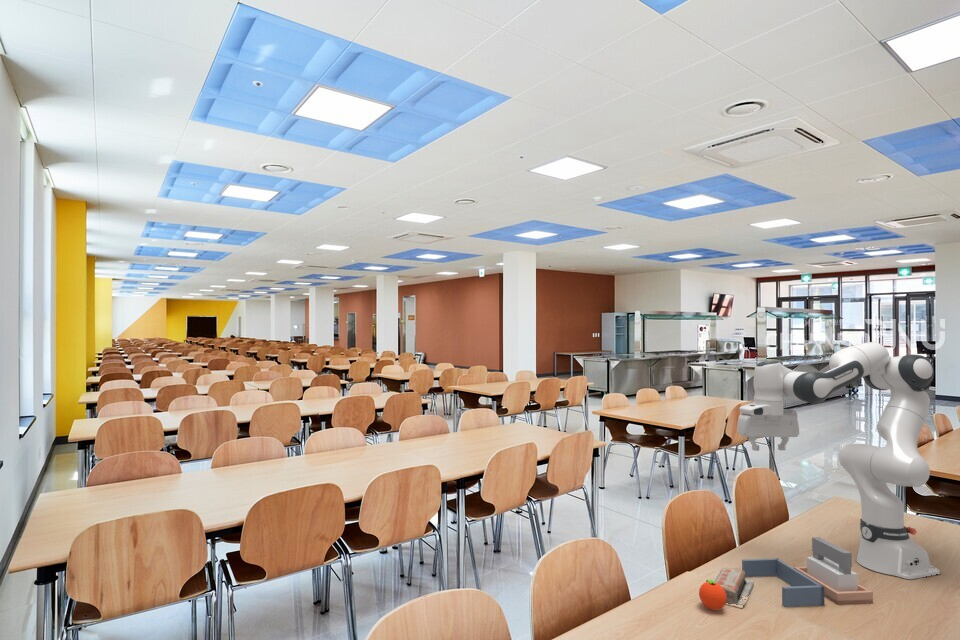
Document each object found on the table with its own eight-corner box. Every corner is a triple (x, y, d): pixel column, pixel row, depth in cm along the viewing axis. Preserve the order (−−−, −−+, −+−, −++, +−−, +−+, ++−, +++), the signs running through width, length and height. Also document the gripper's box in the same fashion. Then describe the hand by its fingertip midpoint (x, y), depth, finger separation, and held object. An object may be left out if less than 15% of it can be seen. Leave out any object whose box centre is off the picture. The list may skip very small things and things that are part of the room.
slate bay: (777, 574, 162) (777, 558, 162) (824, 605, 143) (824, 586, 143) (742, 575, 161) (741, 559, 161) (784, 607, 142) (784, 588, 142)
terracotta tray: (825, 575, 162) (825, 565, 162) (873, 602, 145) (872, 592, 145) (793, 576, 160) (793, 567, 161) (837, 604, 144) (837, 593, 144)
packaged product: (743, 593, 140) (704, 583, 146) (743, 611, 140) (704, 600, 146) (754, 570, 155) (718, 561, 161) (754, 586, 154) (718, 577, 160)
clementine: (693, 599, 145) (693, 574, 145) (718, 600, 145) (718, 574, 145) (705, 614, 137) (705, 587, 137) (731, 615, 137) (731, 588, 137)
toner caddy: (825, 576, 159) (824, 536, 159) (857, 595, 147) (857, 552, 148) (807, 576, 158) (806, 537, 159) (838, 596, 146) (838, 553, 147)
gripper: (790, 407, 177) (790, 448, 177) (734, 407, 175) (735, 448, 174) (803, 410, 171) (804, 452, 170) (746, 410, 169) (746, 452, 168)
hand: (768, 450), depth 172 cm, fingers open, 8 cm apart
